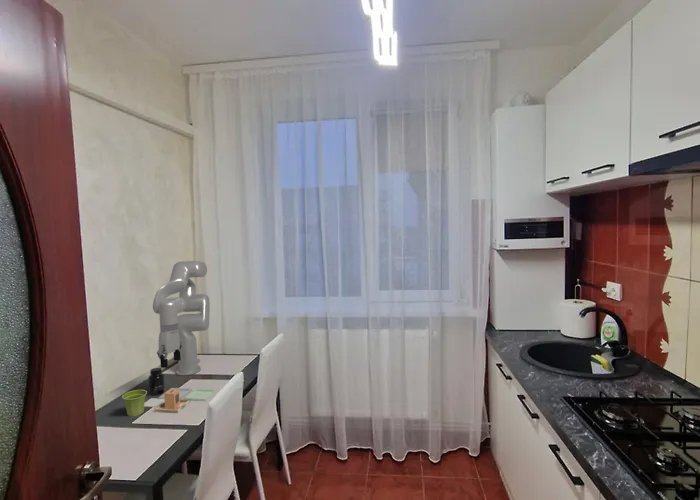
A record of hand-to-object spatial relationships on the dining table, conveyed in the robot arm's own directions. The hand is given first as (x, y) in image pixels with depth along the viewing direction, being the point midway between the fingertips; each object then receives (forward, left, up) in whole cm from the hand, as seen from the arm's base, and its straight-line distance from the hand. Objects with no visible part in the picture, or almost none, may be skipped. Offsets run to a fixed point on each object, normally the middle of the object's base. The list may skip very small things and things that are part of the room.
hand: (170, 363), depth 189 cm
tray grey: (-1, +1, -16) cm, 16 cm away
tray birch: (+11, +6, -16) cm, 20 cm away
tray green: (-1, +13, -16) cm, 20 cm away
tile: (+7, -5, -16) cm, 18 cm away
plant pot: (+17, -7, -16) cm, 24 cm away
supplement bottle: (-3, -10, -16) cm, 19 cm away
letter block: (+11, +6, -15) cm, 20 cm away
